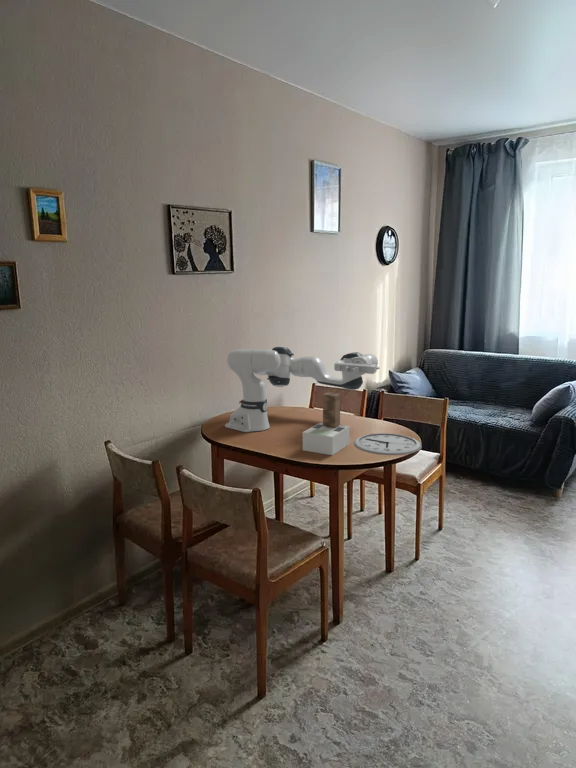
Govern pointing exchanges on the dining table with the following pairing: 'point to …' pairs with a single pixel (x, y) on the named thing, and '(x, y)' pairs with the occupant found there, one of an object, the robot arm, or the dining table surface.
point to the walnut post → (331, 409)
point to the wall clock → (387, 444)
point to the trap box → (326, 439)
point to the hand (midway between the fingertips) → (349, 370)
